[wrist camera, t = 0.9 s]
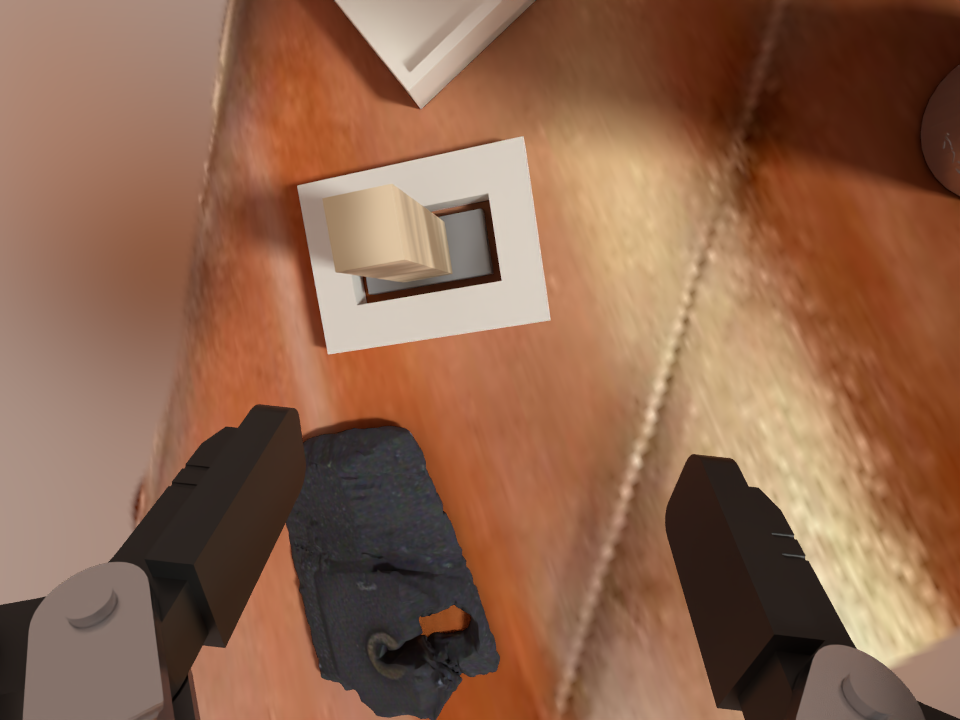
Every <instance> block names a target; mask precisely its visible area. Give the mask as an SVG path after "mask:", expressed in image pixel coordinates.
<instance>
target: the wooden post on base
mask: <svg viewBox="0 0 960 720" xmlns="http://www.w3.org/2000/svg"><path fill="white" fill-rule="evenodd" d="M322 200H323V206H324V211H325V217H326V222H327V228H328V234H329V239H330V245H331V250H332V256H333V261H334V267H335V272H337V273H344V274H351V275H357V276H364V277H366V280H367V286H368V292H369V294H373V295H376V294H381V293H387V292H393V291H399V290H405V289H410V288H416V287H422V286H428V285H434V284H439V283H445V282H451V281H457V280H462V279H468V278H474V277H480V276H486V275H491V274H494V272H493V266H492V259H491V253H490V246H489V240H488V233H487V227H486V220H485V214H484V211H483V210H482V209H476V210H471V211H466V212H461V213H456V214H451V215H446V216H441V217H437V216H436V215H434V214H433V213H432V212H430V211H429V210H428V209H426V208H425V207H423V206H422V205H421V204H419V203H418V202H417V201H415V200H414V199H413V198H411V197H410V196H408V195H407V194H406V193H404V192H403V191H402V190H400V189H399V188H397V187H396V186H395V185H393V184H388V185H383V186H378V187H373V188H369V189H364V190H359V191H355V192H350V193H345V194H340V195H336V196H331V197H326V198H322Z"/></svg>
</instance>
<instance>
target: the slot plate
mask: <svg viewBox="0 0 960 720" xmlns="http://www.w3.org/2000/svg"><path fill="white" fill-rule="evenodd" d="M388 184H393V185H395V186H396V187H397V188H399V189H400V190H402V191H403V192H404V193H406V194H407V195H408V196H410V197H411V198H413V199H414V200H415V201H417V202H418V203H419V204H421V205H422V206H423V207H425V208H426V209H428V210H429V211H430V212H432V211H437V210H442V209H447V208H452V207H457V206H463V205H468V204H473V203H478V202H483V201H488V200H489V201H490V208H491V214H492V221H493V227H494V234H495V240H496V247H497V253H498V260H499V267H500V273H501V280H502V281H498V282H492V283H486V284H480V285H474V286H468V287H463V288H457V289H451V290H445V291H439V292H433V293H427V294H421V295H416V296H410V297H404V298H398V299H392V300H386V301H380V302H374V303H368V304H367V300H366V294H365V289H364V283H363V277H362V276H357V275H351V274H344V273H337V272H335V267H334V261H333V256H332V250H331V245H330V239H329V234H328V228H327V222H326V217H325V211H324V206H323V200H322V198H326V197H331V196H336V195H340V194H345V193H350V192H355V191H359V190H364V189H369V188H373V187H378V186H383V185H388ZM297 188H298V194H299V199H300V204H301V210H302V215H303V221H304V226H305V232H306V237H307V243H308V248H309V253H310V259H311V264H312V270H313V275H314V281H315V286H316V292H317V297H318V302H319V308H320V313H321V319H322V324H323V330H324V335H325V341H326V346H327V351H328V354H334V353H341V352H347V351H354V350H360V349H367V348H373V347H380V346H386V345H393V344H399V343H406V342H412V341H419V340H425V339H432V338H438V337H445V336H451V335H458V334H464V333H471V332H477V331H484V330H490V329H497V328H503V327H510V326H516V325H523V324H529V323H536V322H542V321H549V320H551V319H550V312H549V305H548V298H547V291H546V284H545V277H544V271H543V264H542V257H541V250H540V243H539V236H538V229H537V223H536V216H535V209H534V202H533V195H532V188H531V181H530V174H529V168H528V161H527V154H526V147H525V142H524V137H523V136H522V137H517V138H513V139H508V140H503V141H499V142H494V143H490V144H485V145H481V146H476V147H471V148H467V149H462V150H458V151H453V152H449V153H444V154H439V155H435V156H430V157H426V158H421V159H416V160H412V161H407V162H403V163H398V164H394V165H389V166H384V167H380V168H375V169H371V170H366V171H362V172H357V173H352V174H348V175H343V176H339V177H334V178H329V179H325V180H320V181H316V182H311V183H307V184H302V185H297Z"/></svg>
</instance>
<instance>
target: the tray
mask: <svg viewBox="0 0 960 720" xmlns="http://www.w3.org/2000/svg"><path fill="white" fill-rule="evenodd" d="M535 1H536V0H334V2H335V3H336V4H337V5H338V7H339V8H340V9H341V10H342V11H343V13H344V14H345V15H346V16H347V18H348V19H349V20H350V21H351V23H352V24H353V25H354V26H355V28H356V29H357V30H358V31H359V33H360V34H361V35H362V36H363V38H364V39H365V40H366V41H367V43H368V44H369V45H370V46H371V48H372V49H373V50H374V51H375V53H376V54H377V55H378V56H379V58H380V59H381V60H382V61H383V63H384V64H385V65H386V66H387V68H388V69H389V70H390V71H391V73H392V74H393V75H394V76H395V78H396V79H397V80H398V81H399V83H400V84H401V85H402V86H403V88H404V89H405V90H406V91H407V93H408V94H409V95H410V96H411V98H412V99H413V100H414V101H415V103H416V104H417V105H418V106H419V108H420V109H422V108H423V107H424V106H425V105H426V104H427V103H428V102H429V101H430V100H431V99H433V98H434V97H435V96H436V95H437V94H438V93H439V92H440V91H441V90H442V89H443V88H444V87H445V86H446V85H447V84H448V83H449V82H450V81H451V80H453V79H454V78H455V77H456V76H457V75H458V74H459V73H460V72H461V71H462V70H463V69H464V68H465V67H466V66H467V65H468V64H469V63H470V62H471V61H472V60H474V59H475V58H476V57H477V56H478V55H479V54H480V53H481V52H482V51H483V50H484V49H485V48H486V47H487V46H488V45H489V44H490V43H491V42H492V41H494V40H495V39H496V38H497V37H498V36H499V35H500V34H501V33H502V32H503V31H504V30H505V29H506V28H507V27H508V26H509V25H510V24H511V23H512V22H514V21H515V20H516V19H517V18H518V17H519V16H520V15H521V14H522V13H523V12H524V11H525V10H526V9H527V8H528V7H529V6H530V5H531V4H532V3H534V2H535Z"/></svg>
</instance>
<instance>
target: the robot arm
mask: <svg viewBox="0 0 960 720" xmlns="http://www.w3.org/2000/svg"><path fill="white" fill-rule="evenodd" d="M921 144H922V151H923V154H924V157H925V160H926V163H927V165H928V167H929V168H930V170H931V172H932V173H933V175H934V176H935V178H936V179H937V180H938V181H939V182H940V183H941V184H942V185H944V186H945V187H946V188H947V189H948V190H950V191H952V192H953V193H955V194H957V195H958V196H960V65H958V66H957V67H956V68H954V69H953V70H952V71H951V72H950V73H949V74H948V75H947V76H946V77H945V78H944V80H943V81H942V82H941V83H940V84H939V85H938V87H937V88H936V90H935V92H934V93H933V95H932V96H931V98H930V100H929V102H928V105H927V107H926V110H925V113H924V115H923V121H922V127H921ZM305 471H306V460H305V453H304V446H303V440H302V433H301V426H300V419H299V414H298V411H297V410H296V409H295V408H287V407H279V406H270V405H261V404H258V405H255V406H254V407H253V408H252V409H251V410H250V412H249V413H248V415H247V416H246V417H245V419H244V420H243V422H242V423H241V424H240V426H239V427H238V428H234V427H225V428H223V429H222V430H220V431H219V432H218V433H216V434H215V435H213V436H212V437H210V438H209V439H207V440H206V441H205V442H203V443H202V444H201V445H200V446H199V448H198V449H197V450H196V452H195V453H194V454H193V455H192V457H191V458H190V459H189V461H188V462H187V463H186V467H185V469H183V468H182V470H181V471H180V472H179V473H178V475H177V476H176V477H175V479H174V480H173V481H172V485H171V486H168V488H167V489H166V490H165V491H164V493H163V494H162V495H161V497H160V498H159V499H158V500H157V502H156V503H155V504H154V506H153V507H152V508H151V509H150V511H149V512H148V513H147V515H146V516H145V517H144V518H143V520H142V521H141V522H140V524H139V525H138V526H137V527H136V529H135V530H134V531H133V533H132V534H131V535H130V536H129V538H128V539H127V540H126V542H125V543H124V544H123V546H122V547H121V548H120V549H119V551H118V552H117V553H116V554H115V555H114V557H113V558H112V559H111V560H110V561H109V562H108V563H104V564H99V565H96V566H93V567H90V568H88V569H85V570H83V571H81V572H79V573H77V574H75V575H73V576H71V577H70V578H68V579H67V580H66V581H64V582H62V583H61V584H60V585H59V586H57V587H56V588H55V589H54V590H52V592H51V593H49V594H48V596H46V597H42V598H37V599H31V600H26V601H20V602H15V603H9V604H3V605H0V720H200V715H199V710H198V704H197V698H196V692H195V686H194V681H193V675H192V671H191V667H192V665H193V663H194V661H195V659H196V657H197V655H198V653H199V651H200V649H201V647H202V645H205V646H214V647H222V648H225V647H226V645H227V643H228V641H229V639H230V637H231V635H232V633H233V631H234V629H235V627H236V625H237V623H238V620H239V618H240V616H241V614H242V612H243V610H244V608H245V606H246V604H247V602H248V600H249V598H250V595H251V593H252V591H253V589H254V587H255V585H256V583H257V581H258V579H259V577H260V575H261V573H262V571H263V568H264V566H265V564H266V562H267V560H268V558H269V556H270V554H271V552H272V550H273V548H274V546H275V544H276V541H277V539H278V537H279V535H280V533H281V531H282V529H283V527H284V525H285V523H286V521H287V519H288V517H289V514H290V512H291V510H292V508H293V506H294V504H295V502H296V500H297V498H298V496H299V494H300V491H301V489H302V486H303V482H304V478H305ZM665 526H666V533H667V537H668V541H669V544H670V548H671V551H672V554H673V558H674V561H675V565H676V568H677V572H678V575H679V579H680V582H681V585H682V589H683V592H684V596H685V599H686V603H687V606H688V610H689V613H690V617H691V620H692V623H693V627H694V630H695V634H696V637H697V641H698V644H699V648H700V651H701V655H702V658H703V661H704V665H705V668H706V672H707V675H708V679H709V682H710V686H711V689H712V692H713V696H714V699H715V703H716V706H717V708H722V709H731V710H739V711H742V712H743V715H744V718H745V720H960V719H958V718H956V717H954V716H951V715H949V714H946V713H944V712H942V711H939V710H937V709H934V708H932V707H930V706H928V705H925V704H923V703H921V702H919V701H916V699H915V697H914V696H913V694H912V693H911V692H910V690H909V689H908V688H907V687H906V686H905V684H904V683H903V682H902V681H901V680H900V679H899V678H898V677H897V676H896V675H895V674H894V673H893V672H892V671H891V670H890V669H888V668H887V667H886V666H885V665H884V664H882V663H881V662H879V661H878V660H876V659H875V658H873V657H872V656H870V655H868V654H866V653H865V652H862V651H860V650H858V649H857V648H856V647H855V645H854V644H853V642H852V640H851V638H850V637H849V635H848V633H847V631H846V629H845V627H844V625H843V624H842V622H841V620H840V618H839V616H838V614H837V613H836V611H835V609H834V607H833V605H832V603H831V602H830V600H829V598H828V596H827V594H826V592H825V591H824V589H823V587H822V585H821V583H820V581H819V579H818V578H817V576H816V574H815V572H814V570H813V568H812V567H811V565H810V563H809V561H806V560H805V554H804V552H803V550H802V548H801V546H800V545H799V543H798V541H797V540H795V539H794V533H793V532H792V530H791V528H790V526H789V524H788V522H787V521H786V519H785V517H784V515H783V513H782V511H781V510H780V509H779V508H778V507H777V506H776V505H775V504H774V503H773V502H772V501H771V500H770V499H769V498H768V497H767V496H766V495H765V494H764V493H763V492H762V491H761V490H760V489H759V488H756V487H749V486H748V484H747V482H746V480H745V478H744V476H743V474H742V472H741V470H740V468H739V466H738V465H737V463H736V462H735V461H734V460H733V459H731V458H723V457H714V456H705V455H696V454H693V455H691V456H690V457H689V458H688V459H687V461H686V463H685V466H684V468H683V470H682V472H681V475H680V477H679V479H678V482H677V484H676V486H675V488H674V491H673V493H672V495H671V498H670V500H669V502H668V505H667V509H666V516H665Z"/></svg>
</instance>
